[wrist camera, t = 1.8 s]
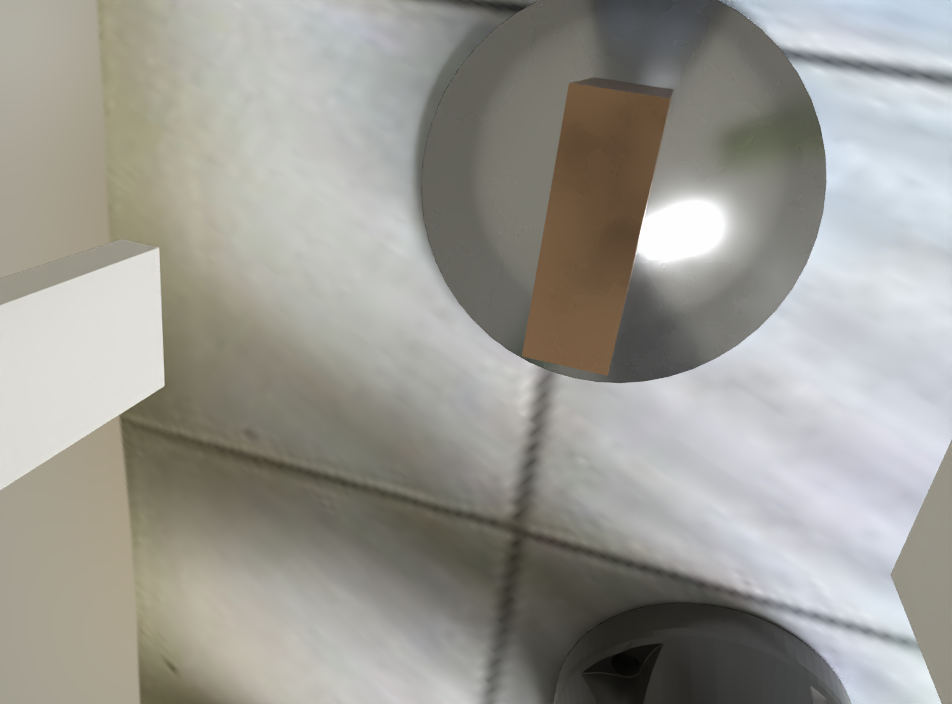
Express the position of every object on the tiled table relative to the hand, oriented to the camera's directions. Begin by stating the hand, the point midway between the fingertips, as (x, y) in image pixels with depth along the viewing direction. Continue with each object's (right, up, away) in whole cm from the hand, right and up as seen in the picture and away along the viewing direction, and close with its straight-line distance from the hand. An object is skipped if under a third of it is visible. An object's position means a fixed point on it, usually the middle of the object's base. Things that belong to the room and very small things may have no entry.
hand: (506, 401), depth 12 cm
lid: (+5, +7, +19) cm, 21 cm away
